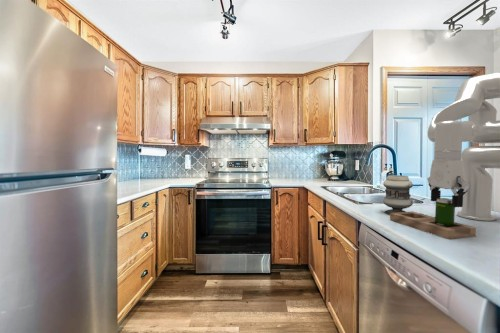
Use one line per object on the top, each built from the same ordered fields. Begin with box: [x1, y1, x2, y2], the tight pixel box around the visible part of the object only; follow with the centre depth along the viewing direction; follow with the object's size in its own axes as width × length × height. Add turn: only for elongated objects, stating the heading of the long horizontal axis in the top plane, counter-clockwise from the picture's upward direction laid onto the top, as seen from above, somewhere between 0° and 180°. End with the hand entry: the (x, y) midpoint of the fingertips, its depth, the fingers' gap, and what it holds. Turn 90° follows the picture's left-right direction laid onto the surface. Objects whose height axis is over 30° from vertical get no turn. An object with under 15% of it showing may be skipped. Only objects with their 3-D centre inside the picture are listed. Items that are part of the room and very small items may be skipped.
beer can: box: [434, 197, 456, 228], centre depth 87 cm, size 5×5×12 cm
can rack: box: [389, 211, 477, 240], centre depth 93 cm, size 24×12×3 cm, turn 14°
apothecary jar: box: [382, 174, 414, 215], centre depth 114 cm, size 12×12×18 cm
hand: (445, 203), depth 87 cm, fingers open, 9 cm apart
